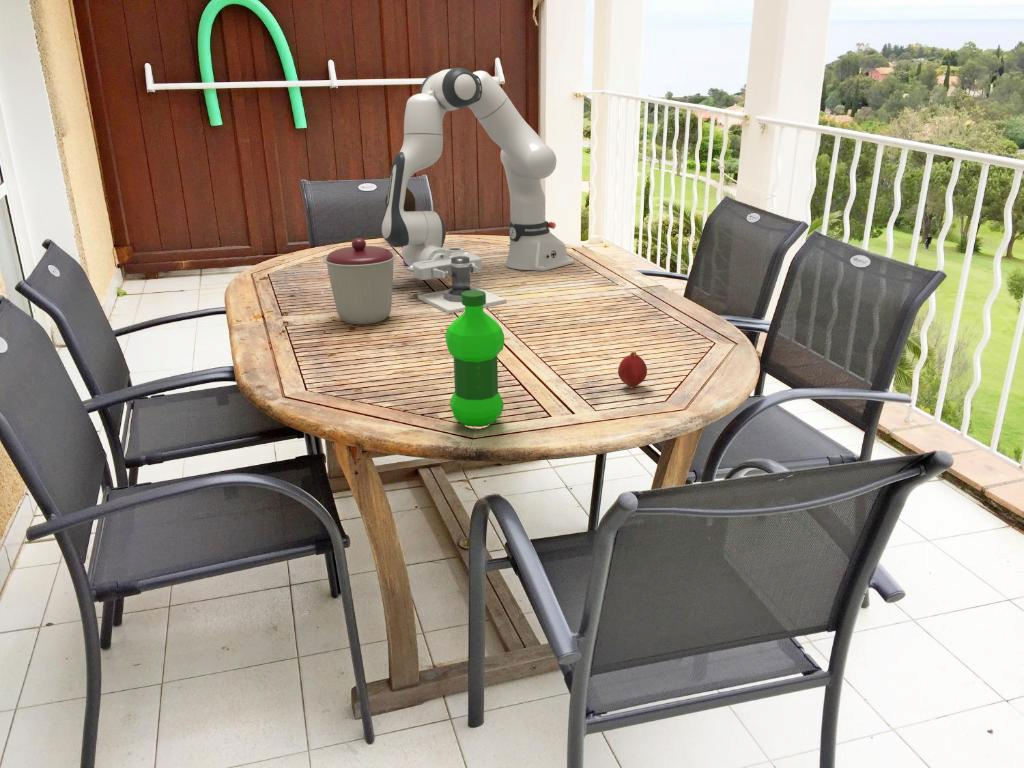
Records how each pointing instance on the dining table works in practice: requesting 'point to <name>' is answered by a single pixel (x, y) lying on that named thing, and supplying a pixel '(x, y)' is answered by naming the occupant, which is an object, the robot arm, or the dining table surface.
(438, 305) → the mount board
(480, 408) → the plastic bottle
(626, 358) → the onion
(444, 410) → the dining table surface
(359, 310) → the canister
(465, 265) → the lens tube
